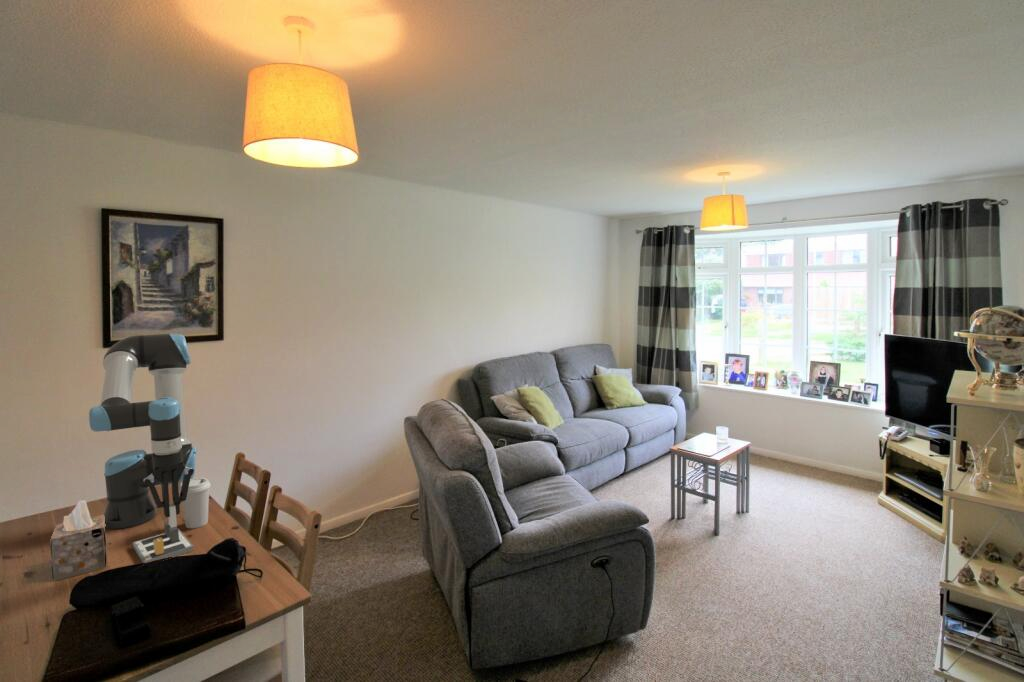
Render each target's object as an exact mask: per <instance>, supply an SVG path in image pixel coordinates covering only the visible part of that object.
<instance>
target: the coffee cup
mask: <svg viewBox="0 0 1024 682" xmlns="http://www.w3.org/2000/svg"><path fill="white" fill-rule="evenodd" d="M211 485H212V484H211V483H210V481H209V479H208V478H206V477H195V478H194V477H193V478H192V479H190V483H189V488H188V492H187V497H186V500H185V501H182V502H181V508H182V511H183V518H184V524H185V528H187V529H198V528H202V527H203V526H206V525H207V524H208V522H209V501H210V500H209V499H210V487H211ZM181 487H182V482H180V485H179V486H178V488H179V494H180V492H181Z"/></svg>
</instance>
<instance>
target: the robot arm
mask: <svg viewBox="0 0 1024 682" xmlns="http://www.w3.org/2000/svg"><path fill="white" fill-rule="evenodd" d="M190 364H191V358H190V352H189V348H188V344H187V340H186V337H185V336H184V335H183V334H180V333H164V334H163V333H162V334H159V333H158V334H145V335H144V334H141V335H140V334H138V335H131V336H127V337H124V338H123V339H121V340H119V341H117V342H116V343H114V344H113V345H111V346H110V347H109V349H108V350H107V351H106V353H105V354H104V357H103V359H102V367H103V369H104V370H105V371H104V380H103V386H102V393H101V398H100V399H101V400H100V404H99V405H97V406H92V407H90V409H89V411H88V420H89V427H90V430H91V431H92V432H94V433H95V432H98V433H99V432H110V431H118V430H125V429H133V428H143V427H149V429H150V430H149V431H150V442H151V443H150V445H151V453H147V452H146V450H145V449H134V450H129V451H125V452H122V453H119V454H116V455H114V456H111V457H110V458H108V460H106V462H105V463H104V478H105V487H106V499H107V501H106V506H105V509H104V511H103V515H104V516H105V524H106V528H105V529H110V530H111V529H112V530H116V529H117V530H118V529H126V528H130V527H134V526H137V525H141V524H143V523H145V522H148V521H150V520H152V519H153V518H154V517H156V515H157V507H158V509H159V508H163V515H164V517H165V518H166V519H167V518H168V519H167V520H168V521H169V526H170V527H171V528H172V527H178V522H177V515H179V514H180V512H181V510H180V505H181V504H182V501H185V500H186V497H187V492H188V488H189V483H190V479H193V478H194V477H195V474H196V473H195V471H196V470H195V469H196V463H197V462H196V461H197V447H196V446H193V444H192V443H193V442H192V441H190V440H189V439H188V438H187V430H186V426H187V425H186V415H185V414H186V411H185V399H184V398H185V397H184V384H183V374H184V373H185V372H186V371H187V366H188V365H190ZM138 368H147V369H148V373H150V374H151V376H153V379H154V395H155V396H154V397H155V399H154V400H149V401H139V402H132V400H133V388H134V387H133V386H134V385H133V384H134V373H135V371H136V369H138ZM179 483H182V487H181V492H180V493H179ZM169 485H171V492H172V493H171V495H172V502H171V503H170V494H169ZM157 486H161V498H162V499H161V498H160V495H159V493H158V490H157V488H156V487H157ZM150 493H151V495H150ZM151 496H152V497H151Z"/></svg>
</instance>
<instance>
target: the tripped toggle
mask: <svg viewBox="0 0 1024 682" xmlns="http://www.w3.org/2000/svg"><path fill="white" fill-rule="evenodd" d="M153 543H154V553H155V554H156V555H159V554H162V553H164V543H163V539H162V538H161V537H160V538H157V539H154V540H153Z"/></svg>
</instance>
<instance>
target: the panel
mask: <svg viewBox="0 0 1024 682" xmlns="http://www.w3.org/2000/svg"><path fill="white" fill-rule="evenodd" d="M163 523H164V533H160V534H157V535H153V536H150V537H145V538H143V539H140V540H137V541H136V540H135V541H133V542H132V547H133V550H134V551H135V553H136V554H137V556H138V557H139V559H140V561H141V563H142V564H143V563H147V562H151V561H154V560H158V559H162V558H168V557H172V558H175V557H178V556H180V555H184V554H187V553H190V552H193V551H194V545H193V544H192V543H191V541H190V540H189V538H188V537H186V535H185V534H184V533H183V532H182V531H181V530H180V528H178V526H176V527H172V528H171V527H170V526H169V520H168V521H165V522H163ZM160 537H161V538H162V539H163V543H164V553H162V554H159V555H156V554H155V553H154V543H153V540H154V539H157V538H160Z"/></svg>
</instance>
